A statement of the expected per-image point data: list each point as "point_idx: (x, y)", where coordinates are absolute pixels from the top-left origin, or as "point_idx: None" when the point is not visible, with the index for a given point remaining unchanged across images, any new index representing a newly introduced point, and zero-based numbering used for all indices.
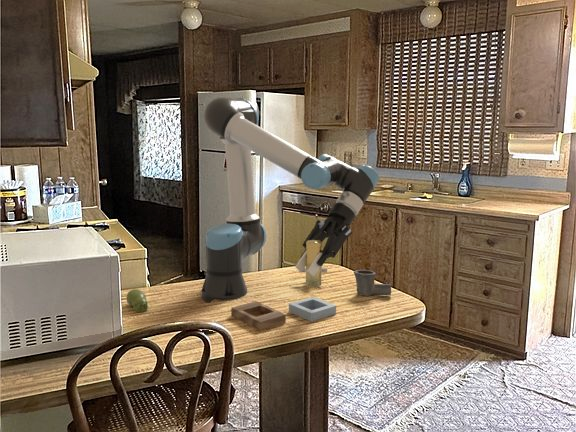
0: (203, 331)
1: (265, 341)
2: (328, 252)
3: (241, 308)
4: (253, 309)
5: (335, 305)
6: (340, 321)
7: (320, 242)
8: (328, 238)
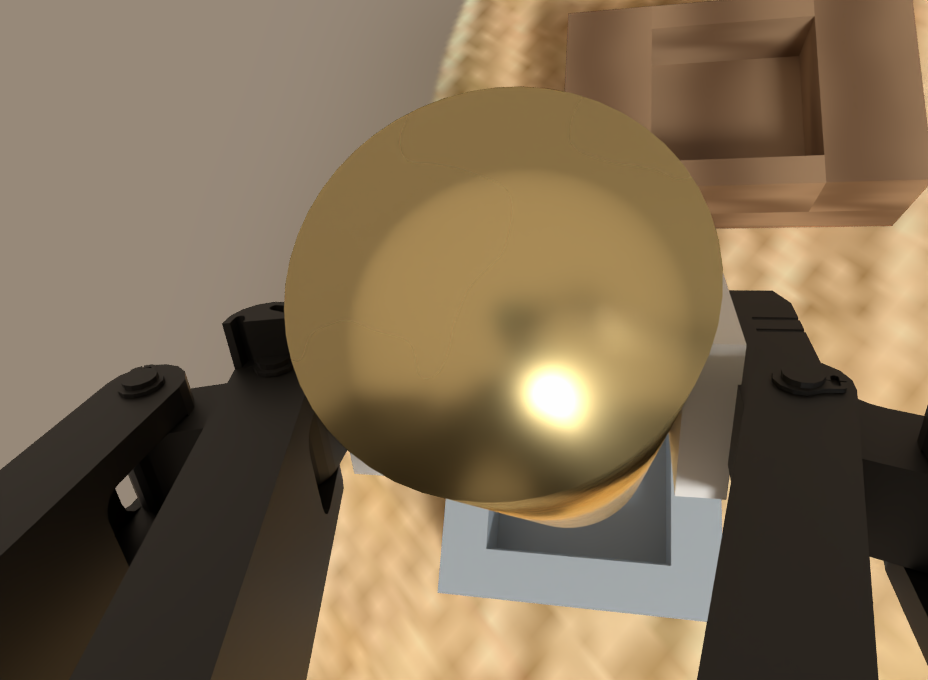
0: None
1: (503, 57)
2: (161, 371)
3: (850, 28)
4: (815, 110)
5: (444, 591)
6: (407, 566)
7: (323, 351)
8: (197, 652)
